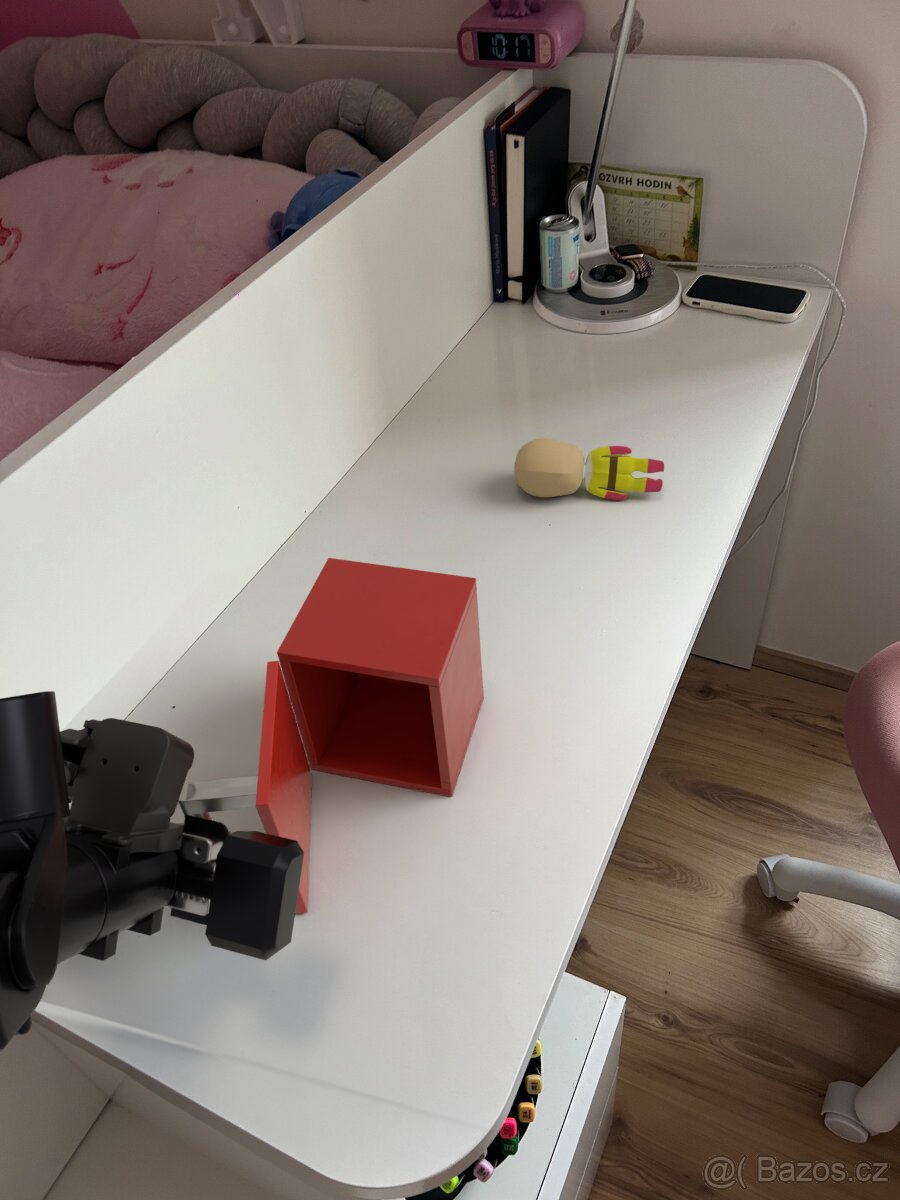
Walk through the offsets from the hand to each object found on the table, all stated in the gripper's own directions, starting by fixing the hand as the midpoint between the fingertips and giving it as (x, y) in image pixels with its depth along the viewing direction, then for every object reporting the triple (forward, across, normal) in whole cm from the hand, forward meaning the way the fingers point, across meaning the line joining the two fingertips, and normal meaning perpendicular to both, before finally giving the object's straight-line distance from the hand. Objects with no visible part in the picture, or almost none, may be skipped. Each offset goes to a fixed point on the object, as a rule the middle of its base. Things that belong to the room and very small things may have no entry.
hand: (215, 835), depth 61 cm
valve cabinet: (+16, -7, -7) cm, 18 cm away
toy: (+40, -15, -31) cm, 53 cm away
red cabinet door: (+7, -1, +2) cm, 8 cm away
